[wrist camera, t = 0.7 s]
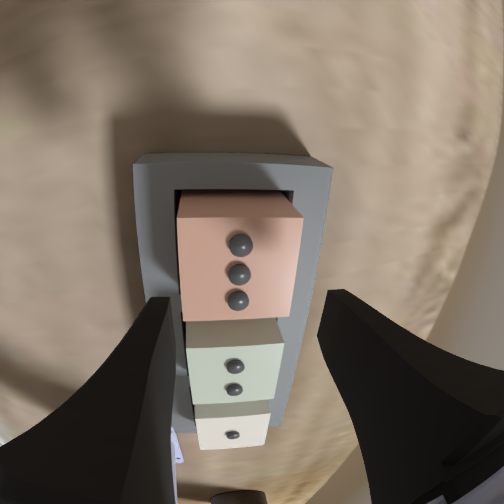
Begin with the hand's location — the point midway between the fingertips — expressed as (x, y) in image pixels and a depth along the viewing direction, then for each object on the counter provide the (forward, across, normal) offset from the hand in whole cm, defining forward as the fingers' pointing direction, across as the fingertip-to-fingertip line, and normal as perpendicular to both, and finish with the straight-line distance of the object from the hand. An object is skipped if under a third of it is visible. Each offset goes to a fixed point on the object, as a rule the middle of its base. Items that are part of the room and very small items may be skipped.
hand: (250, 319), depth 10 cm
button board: (+8, 0, +6) cm, 11 cm away
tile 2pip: (+7, 0, +6) cm, 9 cm away
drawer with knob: (+7, 0, +13) cm, 15 cm away
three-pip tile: (+7, 0, 0) cm, 7 cm away
